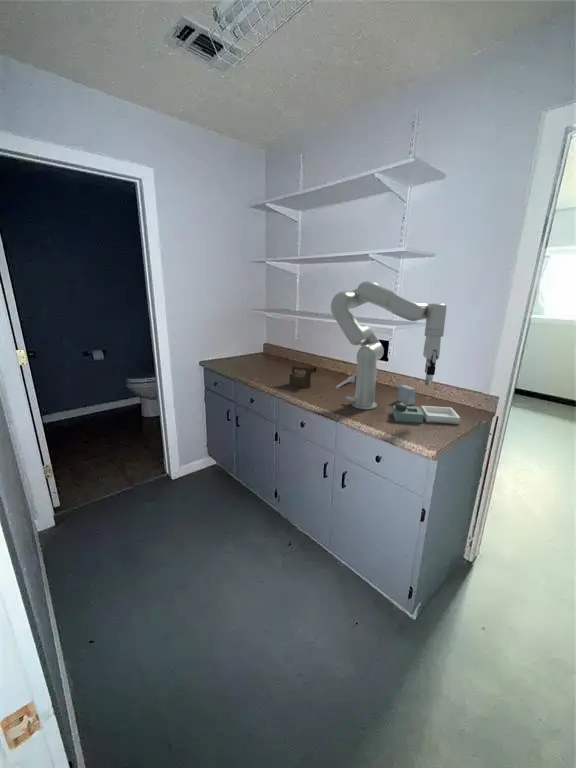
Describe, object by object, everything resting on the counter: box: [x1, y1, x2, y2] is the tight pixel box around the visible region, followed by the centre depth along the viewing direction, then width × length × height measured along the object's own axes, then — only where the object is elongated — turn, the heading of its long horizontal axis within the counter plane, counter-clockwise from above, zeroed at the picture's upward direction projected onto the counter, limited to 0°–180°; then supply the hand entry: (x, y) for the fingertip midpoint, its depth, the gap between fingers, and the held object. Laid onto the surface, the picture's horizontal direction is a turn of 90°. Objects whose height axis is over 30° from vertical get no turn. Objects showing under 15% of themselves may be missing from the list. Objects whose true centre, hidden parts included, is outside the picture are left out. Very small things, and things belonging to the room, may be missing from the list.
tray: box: [420, 405, 461, 425], centre depth 155 cm, size 14×13×3 cm
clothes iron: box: [289, 364, 317, 389], centre depth 200 cm, size 8×16×13 cm, turn 56°
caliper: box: [333, 372, 356, 390], centre depth 204 cm, size 20×1×6 cm, turn 137°
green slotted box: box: [391, 402, 424, 424], centre depth 154 cm, size 12×10×7 cm
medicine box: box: [397, 384, 417, 406], centre depth 174 cm, size 8×4×9 cm, turn 26°
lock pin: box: [424, 362, 434, 386], centre depth 149 cm, size 3×3×10 cm
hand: (429, 373), depth 149 cm, fingers closed on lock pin, 3 cm apart
